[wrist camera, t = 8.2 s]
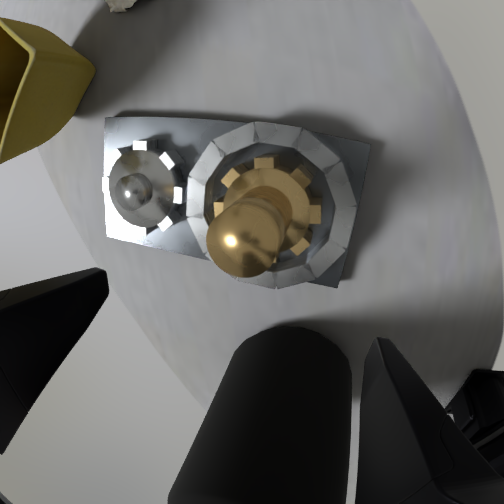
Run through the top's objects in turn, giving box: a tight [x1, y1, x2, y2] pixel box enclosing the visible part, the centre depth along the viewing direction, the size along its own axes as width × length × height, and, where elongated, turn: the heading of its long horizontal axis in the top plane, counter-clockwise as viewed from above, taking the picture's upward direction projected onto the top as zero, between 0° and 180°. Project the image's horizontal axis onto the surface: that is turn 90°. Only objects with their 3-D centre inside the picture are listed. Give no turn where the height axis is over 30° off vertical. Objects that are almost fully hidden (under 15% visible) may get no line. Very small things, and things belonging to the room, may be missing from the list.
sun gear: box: [103, 139, 188, 236], centre depth 20 cm, size 7×7×3 cm
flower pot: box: [0, 18, 96, 164], centre depth 16 cm, size 9×9×9 cm
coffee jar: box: [168, 327, 352, 504], centre depth 18 cm, size 11×11×18 cm
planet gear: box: [206, 154, 322, 278], centre depth 16 cm, size 6×6×7 cm
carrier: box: [104, 117, 371, 289], centre depth 20 cm, size 19×10×2 cm, turn 83°
